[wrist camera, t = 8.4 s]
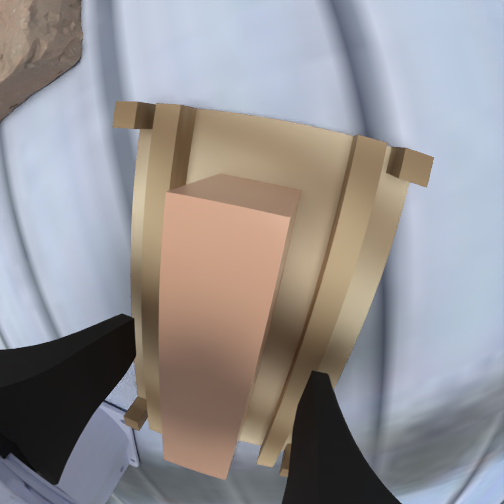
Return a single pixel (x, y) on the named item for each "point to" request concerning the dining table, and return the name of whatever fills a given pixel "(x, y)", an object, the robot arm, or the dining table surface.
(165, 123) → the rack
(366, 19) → the dining table surface
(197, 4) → the dining table surface
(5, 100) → the brick
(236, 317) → the clay strip
